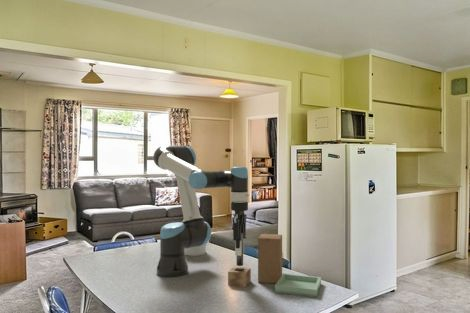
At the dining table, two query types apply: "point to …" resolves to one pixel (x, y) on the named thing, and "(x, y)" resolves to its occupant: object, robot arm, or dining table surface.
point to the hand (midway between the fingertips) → (239, 254)
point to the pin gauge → (240, 258)
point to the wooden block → (269, 258)
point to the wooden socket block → (239, 276)
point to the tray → (298, 285)
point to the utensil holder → (195, 250)
